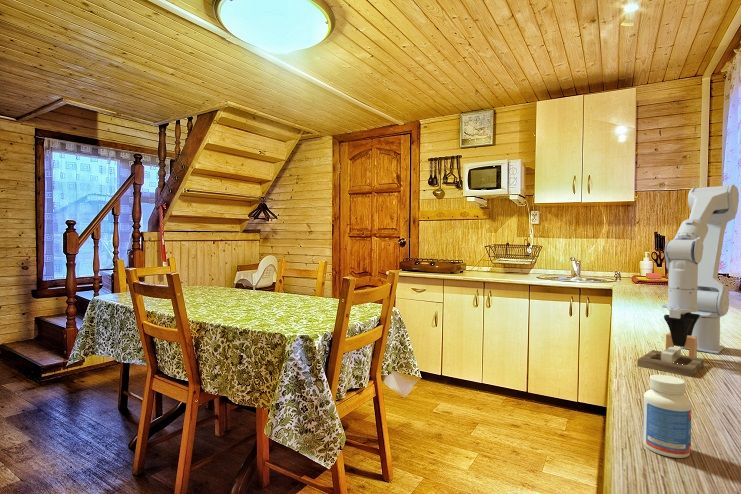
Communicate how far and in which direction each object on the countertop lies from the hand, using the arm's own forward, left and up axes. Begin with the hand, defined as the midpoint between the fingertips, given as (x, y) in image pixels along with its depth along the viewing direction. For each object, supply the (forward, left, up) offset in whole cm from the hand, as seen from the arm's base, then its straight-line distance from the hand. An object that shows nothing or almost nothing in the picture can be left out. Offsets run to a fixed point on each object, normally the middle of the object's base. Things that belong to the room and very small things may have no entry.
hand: (681, 344), depth 101 cm
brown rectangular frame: (+10, 0, -3) cm, 10 cm away
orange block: (0, 0, -3) cm, 3 cm away
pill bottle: (+56, +10, -4) cm, 56 cm away
